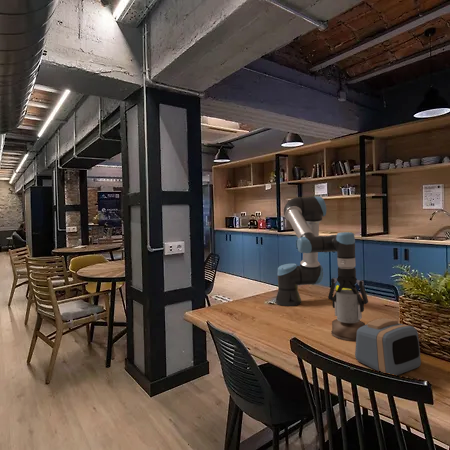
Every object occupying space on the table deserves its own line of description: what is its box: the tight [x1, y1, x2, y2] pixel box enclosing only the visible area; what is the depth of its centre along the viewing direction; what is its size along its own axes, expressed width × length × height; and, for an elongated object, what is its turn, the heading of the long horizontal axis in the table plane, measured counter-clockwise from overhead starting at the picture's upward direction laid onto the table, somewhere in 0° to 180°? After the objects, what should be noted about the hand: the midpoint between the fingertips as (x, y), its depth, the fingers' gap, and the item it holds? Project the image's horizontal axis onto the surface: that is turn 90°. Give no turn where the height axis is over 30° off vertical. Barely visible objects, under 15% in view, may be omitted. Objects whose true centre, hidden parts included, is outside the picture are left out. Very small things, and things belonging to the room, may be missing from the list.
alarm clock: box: [354, 317, 422, 376], centre depth 118 cm, size 16×16×16 cm
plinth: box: [330, 318, 366, 342], centre depth 147 cm, size 15×15×5 cm
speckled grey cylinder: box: [335, 290, 361, 323], centre depth 146 cm, size 10×10×12 cm
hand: (348, 316), depth 147 cm, fingers closed on speckled grey cylinder, 9 cm apart
